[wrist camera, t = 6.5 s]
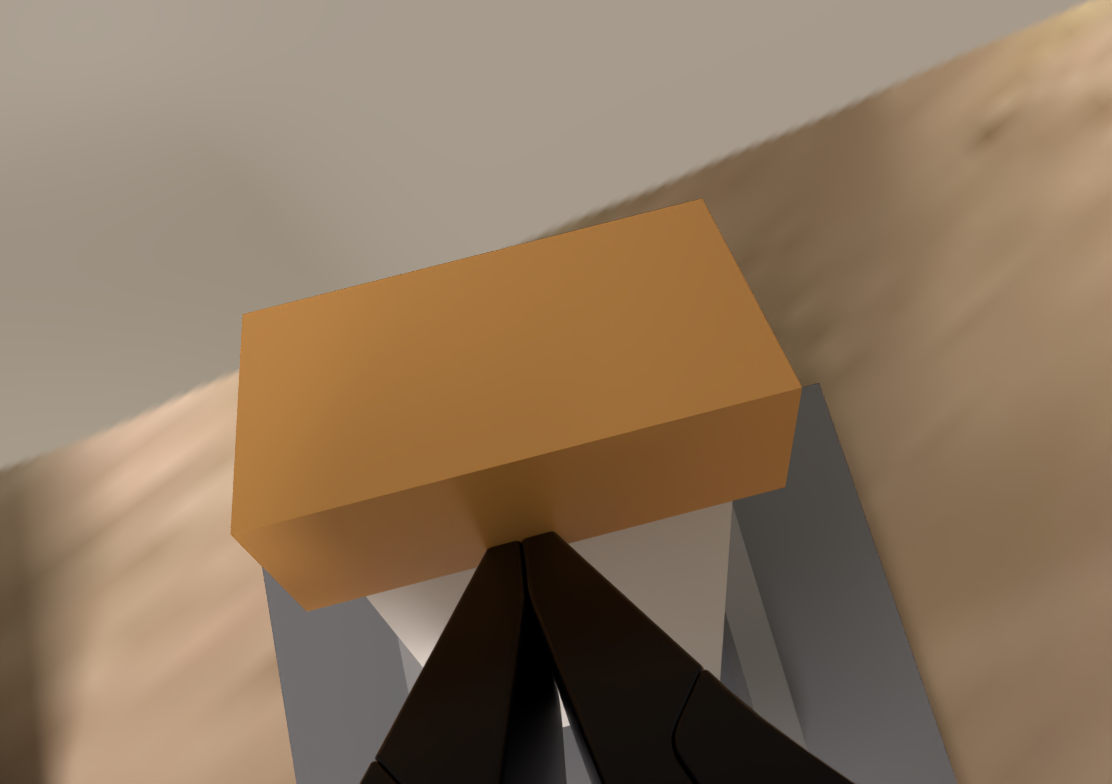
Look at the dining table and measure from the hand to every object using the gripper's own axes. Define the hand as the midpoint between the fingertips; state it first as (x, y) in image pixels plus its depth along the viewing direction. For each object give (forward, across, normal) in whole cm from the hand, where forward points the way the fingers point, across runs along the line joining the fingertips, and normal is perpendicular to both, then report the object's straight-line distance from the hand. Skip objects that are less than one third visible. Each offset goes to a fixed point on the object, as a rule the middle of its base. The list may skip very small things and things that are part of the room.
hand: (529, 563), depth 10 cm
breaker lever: (+4, 0, -8) cm, 9 cm away
